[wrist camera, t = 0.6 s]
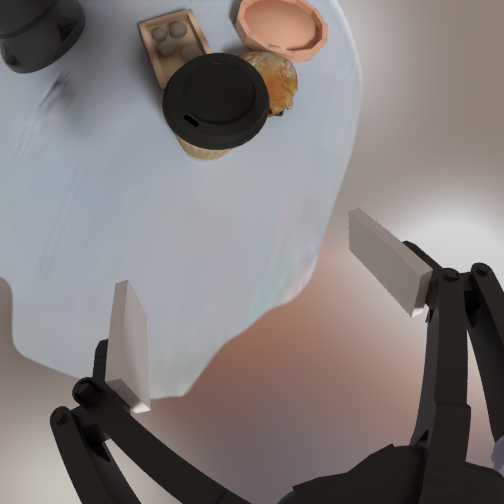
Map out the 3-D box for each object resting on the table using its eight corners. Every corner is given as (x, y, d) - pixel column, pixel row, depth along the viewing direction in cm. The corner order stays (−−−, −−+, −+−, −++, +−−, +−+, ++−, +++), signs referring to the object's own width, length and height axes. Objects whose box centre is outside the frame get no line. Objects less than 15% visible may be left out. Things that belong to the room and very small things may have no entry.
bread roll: (276, 75, 43) (283, 36, 35) (306, 117, 40) (319, 75, 33) (217, 86, 41) (216, 45, 34) (241, 131, 38) (244, 86, 31)
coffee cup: (256, 135, 39) (295, 90, 25) (210, 191, 39) (227, 168, 24) (201, 93, 37) (213, 31, 23) (152, 145, 36) (137, 99, 22)
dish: (222, 5, 36) (225, -4, 34) (298, -3, 39) (303, -11, 36) (257, 70, 39) (261, 62, 36) (335, 56, 41) (342, 50, 39)
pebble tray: (139, 32, 34) (137, 19, 31) (189, 17, 36) (191, 4, 32) (162, 91, 36) (160, 80, 33) (216, 74, 37) (219, 62, 34)
